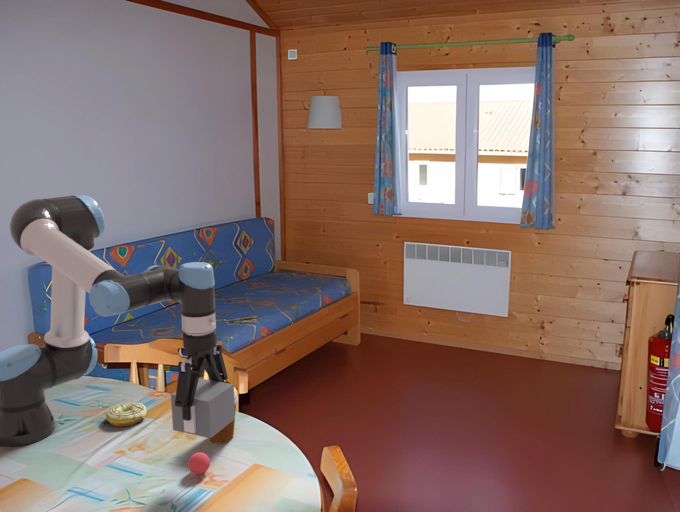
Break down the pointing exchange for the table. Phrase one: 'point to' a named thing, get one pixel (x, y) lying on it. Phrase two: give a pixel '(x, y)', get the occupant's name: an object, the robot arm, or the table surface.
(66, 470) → the table surface
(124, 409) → the decorated donut
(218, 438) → the disposable coffee cup
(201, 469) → the ball
